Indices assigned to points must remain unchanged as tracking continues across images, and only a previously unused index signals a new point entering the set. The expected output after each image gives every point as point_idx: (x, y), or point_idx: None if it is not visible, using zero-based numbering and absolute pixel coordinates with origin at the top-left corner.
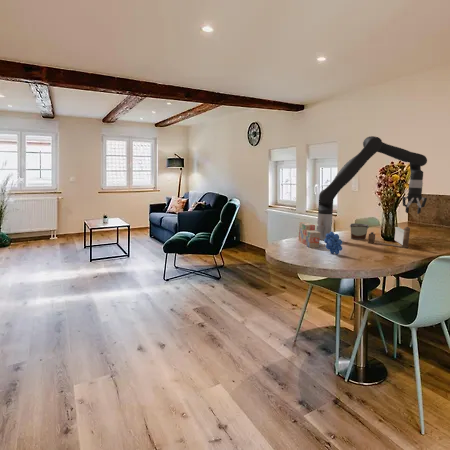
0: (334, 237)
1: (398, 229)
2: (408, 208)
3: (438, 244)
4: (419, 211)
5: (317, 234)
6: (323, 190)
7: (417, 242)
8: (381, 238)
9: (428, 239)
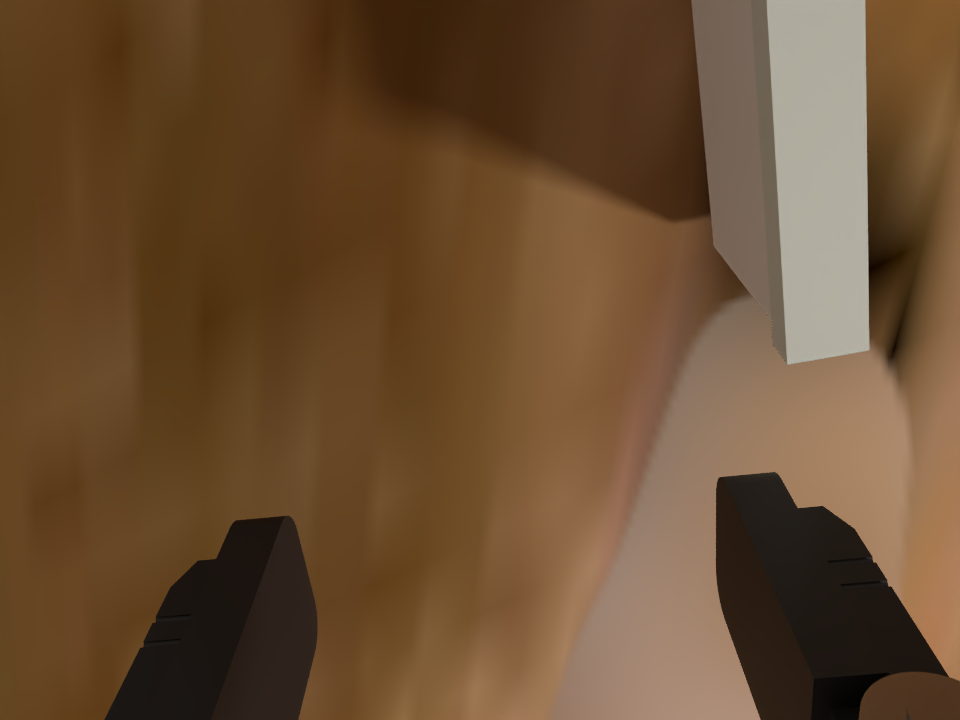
0: None
1: (856, 38)
2: (807, 631)
3: (29, 318)
4: (207, 580)
5: None
6: None
7: (353, 335)
8: (917, 421)
9: None
